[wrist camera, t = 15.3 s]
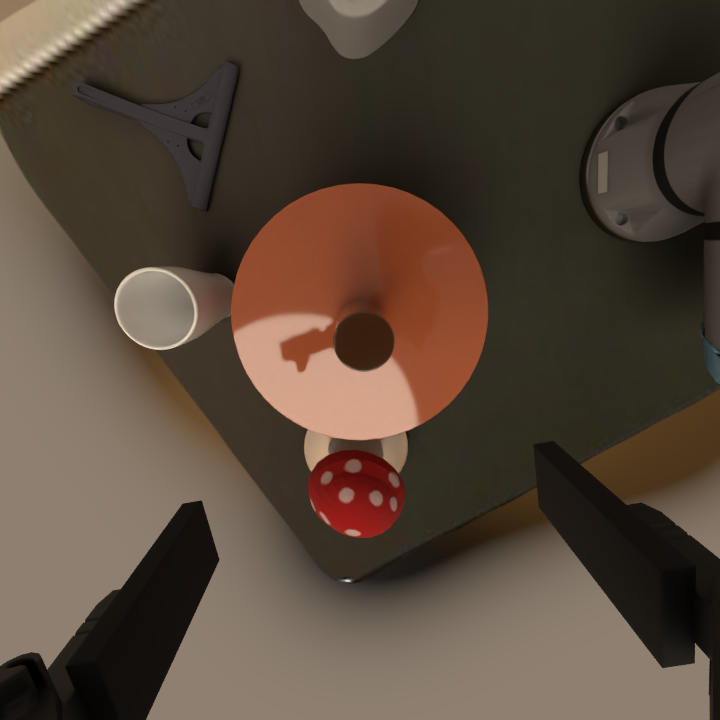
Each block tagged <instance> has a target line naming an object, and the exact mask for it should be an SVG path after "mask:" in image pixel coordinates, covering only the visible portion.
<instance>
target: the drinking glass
mask: <svg viewBox="0 0 720 720" xmlns="http://www.w3.org/2000/svg"><path fill="white" fill-rule="evenodd" d="M233 288H234V284H233V282H232V281H231V280H230V279H228V278H227V277H225V276H223V275H221V274H217V273H206V272H202V271H197V270H192V269H188V268H182V267H174V266H158V267H148V268H142V269H139V270H136V271H134V272H132V273H131V274H129V275H128V276H127V277H126V278H125V279H124V280H123V281H122V282H121V284H120V285H119V287H118V289H117V292H116V295H115V302H114V308H115V314H116V317H117V320H118V322H119V324H120V326H121V328H122V329H123V330H124V332H125V333H126V334H127V335H128V336H129V337H130V338H131V339H132V340H133V341H135V342H136V343H138V344H140V345H142V346H144V347H147V348H150V349H155V350H166V349H171V348H175V347H177V346H181V345H183V344H186V343H188V342H191V341H193V340H195V339H196V338H198V337H200V336H201V335H203V334H204V333H206V332H207V331H208V330H210V329H211V328H212V327H214V326H215V325H216V324H218V323H219V322H220V321H222V320H223V319H225V318H227V317H229V316H230V315H231V303H232V294H233Z"/></svg>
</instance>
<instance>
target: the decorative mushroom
mask: <svg viewBox="0 0 720 720" xmlns="http://www.w3.org/2000/svg"><path fill="white" fill-rule="evenodd" d="M328 452H329V455H327V456H326V457H324V458H323V459H322V460H320V461H319V462H318V463H317V464H316V466H315V467H314V469H313V470H312V472H311V474H310V477H309V483H308V492H309V497H310V501H311V504H312V507H313V508H314V510H315V511H316V513H317V515H318V516H319V517H320V518H321V519H322V520H323V521H324V522H326V523H327V524H328V525H329V526H331V527H332V528H333V529H335V530H336V531H338V532H340V533H342V534H345V535H347V536H352V537H357V538H365V537H373V536H376V535H379V534H381V533H383V532H384V531H386V530H387V529H389V528H390V527H391V526H392V524H393V523H394V522H395V520H396V519H397V517H398V516H399V515H400V513H401V511H402V508H403V503H404V499H405V489H404V483H403V481H402V479H401V477H400V476H399V474H398V472H397V471H396V469H395V468H394V467H393V466H391V465H390V464H389V463H388V462H387V461H386V460H385V459H383V456H384V454H383V450H382V447H381V446H380V444H379V443H378V442H377V441H376V440H375V439H371V440H346V439H340V438H332V439H331V441H330V442H329V446H328Z"/></svg>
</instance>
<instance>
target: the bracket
mask: <svg viewBox="0 0 720 720" xmlns="http://www.w3.org/2000/svg"><path fill="white" fill-rule="evenodd" d="M238 73H239V69H238V68H237V67H236V66H235V65H233V64H231V63H229V62H226V61H224V62H223V64H222V68H217V70H216V71H215V72H214V74H213V75H212V76H211V77H210V79H209V80H208V81H207V82H206V83H205V84H204V85H203V86H202V87H201V88H199V89H198V90H197V91H196V92H194V93H193V94H191V95H189V96H187V97H186V98H183V99H181V100H180V101H177V102H173V103H167V104H142V105H141V106H139V105H137V104H134V103H131V102H129V101H126V100H124V99H121V98H119V97H116V96H114V95H111V94H109V93H106V92H104V91H101V90H99V89H96V88H94V87H91V86H89V85H87V84H84V83H82V82H79V81H74V85H73V91H72V95H73V96H74V97H76V98H77V99H79V100H81V101H83V102H86V103H88V104H90V105H93V106H96V107H99V108H101V109H104V110H107V111H110V112H113V113H116V114H118V115H121V116H124V117H127V118H130V119H133V120H135V121H138V123H139V124H140V125H142V126H143V127H144V128H146V129H147V130H149V131H150V132H151V133H153V134H154V135H155V136H156V137H157V138H158V139H159V140H160V141H161V142H162V143H163V144H164V145H165V146H166V147H167V148H168V150H169V151H170V153H171V154H172V156H173V157H174V159H175V161H176V163H177V165H178V166H179V169H180V171H181V173H182V176H183V179H184V182H185V186H186V190H187V195H188V199H189V201H190V202H191V207H194V208H197V209H200V210H203V211H206V210H207V206H208V202H209V198H210V193H211V189H212V185H213V180H214V176H215V172H216V167H217V163H218V159H219V154H220V150H221V146H222V141H223V137H224V133H225V129H226V124H227V120H228V116H229V111H230V107H231V103H232V98H233V94H234V90H235V85H236V81H237V77H238ZM186 111H187V112H186ZM201 113H211V117H210V121H209V125H208V127H207V128H202V127H199V126H196V125H193V124H192V121H193V120H194V118H195V117H196V116H197V115H199V114H201ZM188 139H190V140H192V141H195V142H198V143H201V144H203V145H204V146H203V153H202V157H201V161H199V160H197V159H196V158H195V157H194V156H193V155H192V154H191V152H190V150H189V147H188Z"/></svg>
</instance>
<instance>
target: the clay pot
mask: <svg viewBox="0 0 720 720" xmlns="http://www.w3.org/2000/svg"><path fill="white" fill-rule="evenodd" d="M231 321H232V330H233V336H234V342H235V345H236V348H237V352H238V355H239V358H240V360H241V362H242V364H243V367H244V369H245V371H246V373H247V375H248V376H249V378H250V379H251V381H252V383H253V384H254V386H255V387H256V388H257V390H258V391H259V392H260V393H261V395H262V396H263V397H264V398H265V399H266V400H267V401H268V402H269V403H270V404H271V405H272V406H273V407H274V408H275V409H276V410H277V411H279V412H280V413H281V414H283V415H284V416H285V417H287V418H288V419H289V420H291V421H293V422H295V423H296V424H298V425H300V426H302V427H304V428H306V429H309V430H311V431H313V432H316V433H319V434H322V435H326V436H329V437H333V438H340V439H346V440H371V439H380V438H385V437H389V436H394V435H397V434H400V433H403V432H405V431H408V430H411V429H413V428H415V427H417V426H419V425H421V424H423V423H424V422H426V421H427V420H429V419H431V418H432V417H434V416H435V415H437V414H438V413H439V412H440V411H441V410H443V409H444V408H445V407H446V406H447V405H448V404H449V403H450V402H451V401H452V400H453V399H454V398H455V397H456V396H457V395H458V394H459V393H460V391H461V390H462V388H463V387H464V386H465V384H466V383H467V381H468V380H469V378H470V376H471V374H472V373H473V371H474V369H475V367H476V365H477V363H478V360H479V357H480V355H481V352H482V350H483V345H484V341H485V337H486V333H487V324H488V298H487V291H486V285H485V281H484V277H483V274H482V271H481V267H480V265H479V263H478V260H477V258H476V256H475V254H474V251H473V250H472V248H471V247H470V245H469V243H468V242H467V240H466V238H465V237H464V236H463V234H462V233H461V232H460V231H459V230H458V228H457V227H456V226H455V225H454V223H452V222H451V221H450V220H449V219H448V218H447V217H446V216H445V215H444V214H443V213H442V212H441V211H439V210H438V209H436V208H435V207H433V206H432V205H431V204H429V203H428V202H426V201H424V200H422V199H420V198H418V197H416V196H414V195H412V194H411V193H408V192H405V191H402V190H399V189H396V188H393V187H388V186H383V185H378V184H365V183H353V184H342V185H336V186H332V187H328V188H324V189H320V190H318V191H315V192H313V193H310V194H307V195H305V196H303V197H301V198H299V199H298V200H296V201H294V202H292V203H291V204H289V205H288V206H286V207H285V208H284V209H282V210H281V211H280V212H278V213H277V214H276V215H275V216H274V217H273V218H272V219H271V220H270V221H269V222H268V223H267V224H266V225H265V226H264V227H263V228H262V229H261V230H260V232H259V233H258V234H257V236H256V237H255V238H254V240H253V241H252V242H251V244H250V246H249V248H248V250H247V251H246V253H245V255H244V257H243V259H242V262H241V264H240V267H239V269H238V272H237V275H236V279H235V283H234V288H233V294H232V303H231Z"/></svg>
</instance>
